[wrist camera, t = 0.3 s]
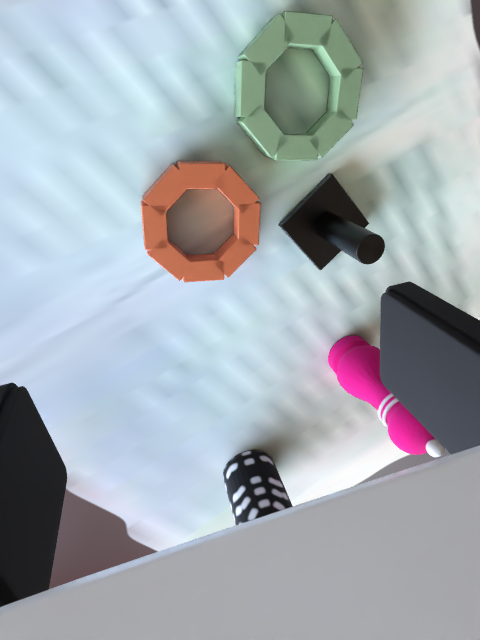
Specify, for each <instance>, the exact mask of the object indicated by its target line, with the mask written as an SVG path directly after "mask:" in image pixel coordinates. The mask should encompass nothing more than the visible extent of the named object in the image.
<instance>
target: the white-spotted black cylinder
mask: <svg viewBox="0 0 480 640" xmlns="http://www.w3.org/2000/svg"><path fill="white" fill-rule="evenodd" d="M223 479H224V482H225V486H226V490H227V494H228V497H229V501H230V505H231V509H232V512H233V516H234V520H235V523H236V525H239V524H242V523H245V522H248V521H251V520H254V519H257V518H260V517H263V516H266V515H269V514H272V513H275V512H278V511H281V510H284V509H287V508H290V507H293V506H292V504H291V502H290V499H289V497H288V495H287V492H286V490H285V488H284V485H283V483H282V480H281V478H280V476H279V473H278V471H277V469H276V466H275V464H274V462H273V459H272V458H271V456H270V455H269V454H267V453H265V452H263V451H257V450H253V451H247V452H244V453H241V454H239V455H237V456H235V457H234V458H233V459H231V460H230V461H229V462H228V464H227V465H226V467H225V469H224V472H223Z"/></svg>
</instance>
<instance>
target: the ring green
mask: <svg viewBox="0 0 480 640" xmlns="http://www.w3.org/2000/svg"><path fill="white" fill-rule="evenodd" d="M286 48H296V49H310V50H313V51H314V53H315V55H316V56H317V58H318V59H319V61H320V62H321V64H322V65H323V67H324V68H325V70H326V71H327V73H328V74H329V76H330V84H329V93H328V102H327V111H326V113H325V114H324V115H323V116H322V117H321V118H320V119H319V120H318V121H317V122H316V123H315V124H314V125H313V126H312V127H311V128H310V129H309V130H308V132H307V133H306V134H283V132H282V131H281V130H280V129H279V127H278V126H277V125H276V123H275V122H274V121H273V120H272V118H271V117H270V116H269V114H268V113H267V112H266V111H265V109H264V103H265V82H266V70H267V69H268V68H269V67H270V66H271V65H272V64H273V63H274V62H275V60H276V59H277V58H278V57H279V56H280V55H281V54H282V53H283V52H284V50H285V49H286ZM238 59H239V60H240V61H239V62H237V63H236V64H235V117H240V118H239V119H238V120H237V123H238V124H239V126H240V127H241V128H242V129H243V130H244V132H245V133H246V134H247V135H248V136H249V138H250V139H251V140H252V141H253V142H254V144H255V145H256V146H257V147H258V148H259V150H260V151H261V152H262V153H263V154H264V156H267V157H269V158H271V159H274V160H317V157H319V158H322V157H323V156H324V155H325V154H326V153H327V152H328V151H329V150H330V149H331V148H332V147H333V146H334V145H335V144H336V143H337V142H338V141H339V140H340V139H341V138H342V137H343V136H344V135H345V134H346V133H347V132H348V130H349V129H350V128H351V127H352V126H353V123H352V121H351V120H356V118H357V111H358V104H359V97H360V90H361V83H362V75H363V68H358V67H359V66H360V64H361V63H362V60H361V59H360V57H359V55H358V54H357V52H356V50H355V49H354V47H353V45H352V44H351V42H350V40H349V39H348V37H347V35H346V33H345V32H344V30H343V28H342V27H341V25H340V23H339V22H338V20H337V19H335V20H333V21H332V15H322V14H311V13H301V12H290V11H285V12H283V13H282V14H278V15H277V16H275V17H274V18H272V19H271V20H270V21H269V22H268V23H267V25H266V26H265V27H264V28H263V29H262V30H261V31H260V33H259V34H258V35H257V36H256V37H255V38H254V39H253V40H252V42H251V43H250V44H249V45H248V46H247V47H246V48H245V49H244V51H243V52H242V53H241V54H240V55H239V56H238Z"/></svg>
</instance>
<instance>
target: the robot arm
mask: <svg viewBox="0 0 480 640" xmlns="http://www.w3.org/2000/svg"><path fill="white" fill-rule="evenodd" d="M380 378H381V381H382V383H383V385H384V386H385V387H386V388H387V389H388V390H389V391H390V392H391V393H392V394H393V395H394V396H395V398H396V399H397V400H398V401H399V402H400V403H401V404H402V405H403V406H404V407H405V408H406V409H407V410H408V411H409V412H410V413H411V414H412V415H413V416H414V417H415V418H416V419H417V420H418V421H419V422H420V423H421V424H422V425H423V426H424V427H425V428H426V429H427V430H428V431H429V432H430V434H431V435H432V436H433V437H434V438H435V439H436V440H437V441H438V442H439V443H440V444H441V445H442V446H443V447H444V448H445V449H446V450H447V451H448V452H449V453H450V454H451V455H449V456H446V457H443V458H440V459H436V460H433V461H430V462H427V463H424V464H421V465H418V466H415V467H412V468H409V469H406V470H403V471H400V472H396V473H393V474H390V475H387V476H384V477H381V478H378V479H375V480H372V481H369V482H366V483H363V484H360V485H357V486H354V487H351V488H348V489H345V490H342V491H339V492H336V493H333V494H330V495H327V496H324V497H320V498H317V499H314V500H311V501H308V502H305V503H302V504H299V505H296V506H293V507H290V508H287V509H284V510H281V511H278V512H275V513H272V514H269V515H266V516H263V517H260V518H257V519H254V520H251V521H248V522H245V523H242V524H239V525H236V526H233V527H230V528H227V529H224V530H221V531H218V532H215V533H212V534H210V535H207V536H204V537H201V538H198V539H195V540H192V541H189V542H186V543H183V544H180V545H177V546H174V547H171V548H168V549H165V550H162V551H159V552H156V553H153V554H151V555H147V556H144V557H142V558H139V559H136V560H133V561H130V562H127V563H124V564H121V565H118V566H115V567H112V568H109V569H106V570H103V571H100V572H97V573H94V574H92V575H89V576H86V577H83V578H80V579H78V580H75V581H72V582H69V583H66V584H64V585H61V586H58V587H55V588H52V589H50V590H49V584H50V578H51V572H52V566H53V560H54V554H55V548H56V542H57V536H58V530H59V524H60V518H61V512H62V506H63V501H64V495H65V489H66V483H67V472H66V467H65V465H64V463H63V461H62V459H61V457H60V455H59V453H58V451H57V449H56V447H55V445H54V443H53V441H52V439H51V437H50V435H49V433H48V431H47V429H46V427H45V425H44V423H43V421H42V419H41V417H40V415H39V413H38V411H37V409H36V407H35V405H34V403H33V401H32V399H31V397H30V395H29V393H28V391H27V389H26V388H25V387H23V386H21V387H18V386H17V385H16V384H14V383H9V384H5V385H1V386H0V640H480V321H479V320H478V319H476V318H474V317H472V316H471V315H469V314H467V313H465V312H464V311H462V310H460V309H458V308H456V307H455V306H453V305H451V304H449V303H448V302H446V301H444V300H442V299H440V298H439V297H437V296H435V295H433V294H432V293H430V292H428V291H426V290H425V289H423V288H421V287H419V286H417V285H416V284H414V283H412V282H405V283H401V284H397V285H393V286H389V287H388V288H387V290H386V293H384V294H382V297H381V324H380Z"/></svg>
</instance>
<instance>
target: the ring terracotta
mask: <svg viewBox="0 0 480 640" xmlns="http://www.w3.org/2000/svg"><path fill="white" fill-rule="evenodd" d="M215 188H217V189H218V190H219V191H220V192H221V193H222V194H223V195H224V196H225V197H226V198H227V199H228V200H229V201H230V202H231V204H232V205H233V206H234V220H233V235H232V236H231V237H230V238H229V239H228V240H227V241H226V242H225V243H224V244H223V245H222V246H221V247H220V248H219V249H218V250H217V251H216V252H215V253H214V254H200V255H186V254H185V253H184V252H183V251H182V250H181V249H180V248H178V247H177V246H176V245H175V244H174V243H173V242H172V241H170V240H169V239H168V235H167V217H166V212H167V210H168V209H169V208H170V207H171V206H172V205H173V204H174V203H175V202H176V201H177V200H178V199H179V197H180V196H181V195H182V194H183V193H184V192H185V191H186V190H187V189H215ZM258 199H259V197H258V196H257V195H256V194H255V193H254V192H253V191H252V190H251V189H250V187H249V186H248V185H247V184H246V183H245V182H244V181H243V180H242V179H241V177H240V176H239V175H238V174H237V173H236V172H235V171H234V170H233V169H232V167H231V166H229V165H227V164H225V163H223V162H221V161H177V167H176V166H175V165H174V164H173V163H172V164H171V165H170V166H169V167H168V168H167V169H166V170H165V172H164V173H163V174H162V175H161V176H160V177H159V178H158V179H157V180H156V182H155V183H154V184H153V185H152V186H151V187H150V188H149V189H148V190H147V192H146V193H145V194H144V195H143V201H141V210H142V223H143V235H144V245H145V250H147V254H148V255H149V256H150V257H151V258H153V259H154V260H155V261H156V262H157V263H159V264H160V265H161V266H162V267H163V268H165V269H166V270H167V271H168V272H169V273H171V274H172V275H173V276H174V277H175V278H177V279H178V280H179V281H180V280H181V279H182V278H183V281H184V282H195V281H211V280H224V275H226V276H227V277H229V276H230V275H231V274H232V273H233V272H234V271H235V270H236V269H237V268H238V267H239V266H240V265H241V264H242V263H243V262H244V261H245V260H246V259H247V258H248V257H249V256H250V255H251V254H252V253H253V252H254V251H255V250H256V247H255V246H254V245H258V244H259V226H260V206H261V203H260V202H258V201H257V200H258Z"/></svg>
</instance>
